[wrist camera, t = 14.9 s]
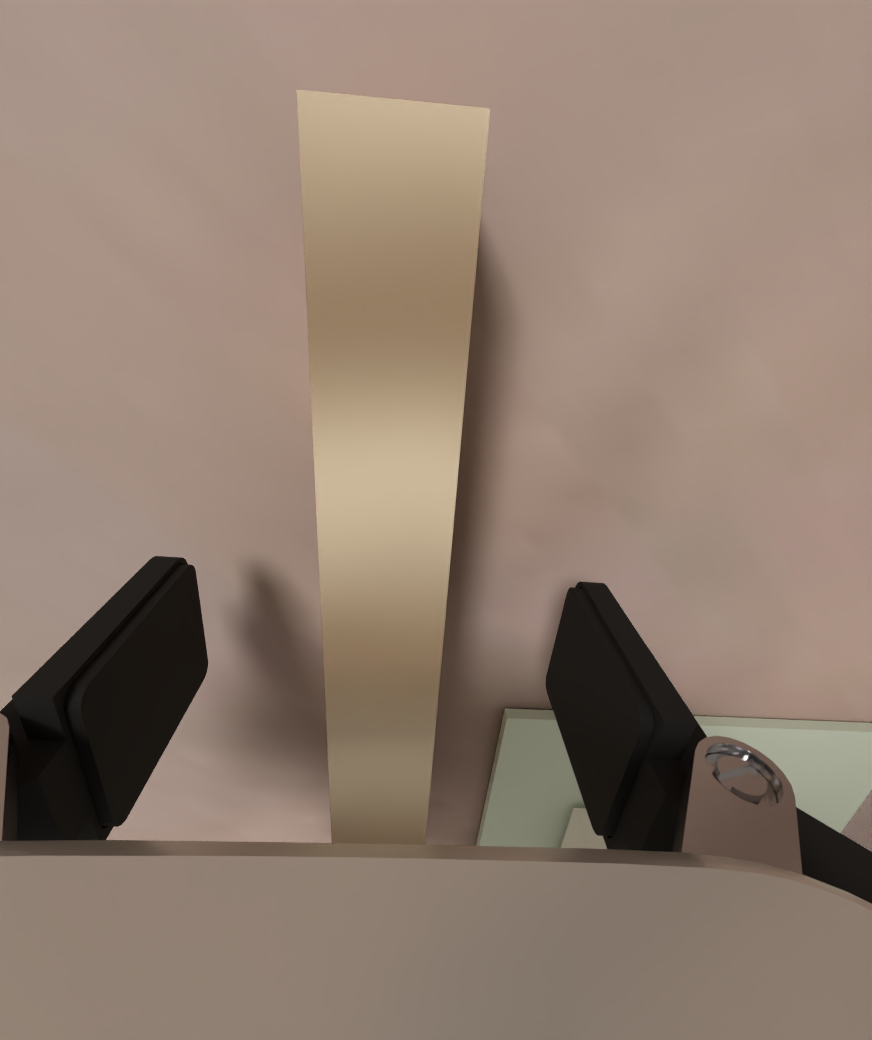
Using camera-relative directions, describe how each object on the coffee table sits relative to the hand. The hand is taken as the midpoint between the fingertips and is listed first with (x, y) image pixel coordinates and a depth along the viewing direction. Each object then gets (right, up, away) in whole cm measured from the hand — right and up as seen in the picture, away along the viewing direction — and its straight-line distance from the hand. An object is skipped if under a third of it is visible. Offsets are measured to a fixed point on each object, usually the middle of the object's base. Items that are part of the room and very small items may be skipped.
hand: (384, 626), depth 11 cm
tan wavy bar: (0, +1, +3) cm, 3 cm away
